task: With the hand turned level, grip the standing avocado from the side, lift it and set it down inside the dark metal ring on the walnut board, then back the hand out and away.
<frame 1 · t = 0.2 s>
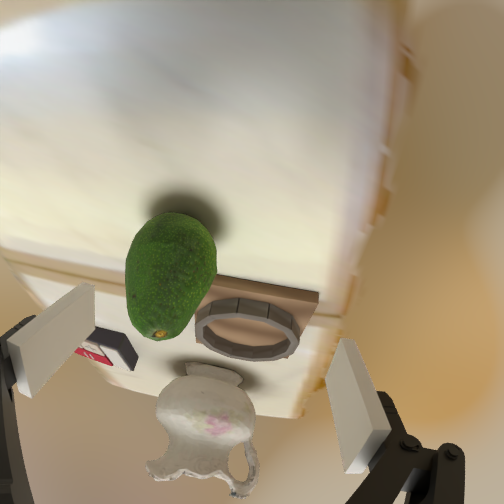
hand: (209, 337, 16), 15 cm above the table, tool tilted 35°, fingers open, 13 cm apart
avocado: (187, 222, 31), on the table
calculator: (100, 335, 58), on the table
ceramic pitcher: (219, 375, 62), on the table
ring stand: (249, 317, 42), on the table
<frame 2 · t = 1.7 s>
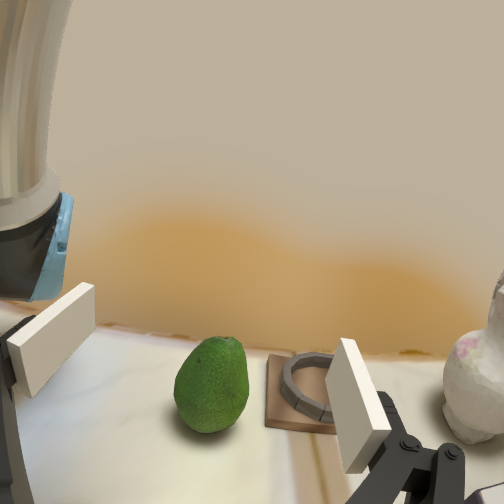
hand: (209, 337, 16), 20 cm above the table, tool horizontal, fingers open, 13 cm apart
avocado: (205, 422, 33), on the table
ceramic pitcher: (467, 416, 38), on the table
ring stand: (322, 398, 41), on the table
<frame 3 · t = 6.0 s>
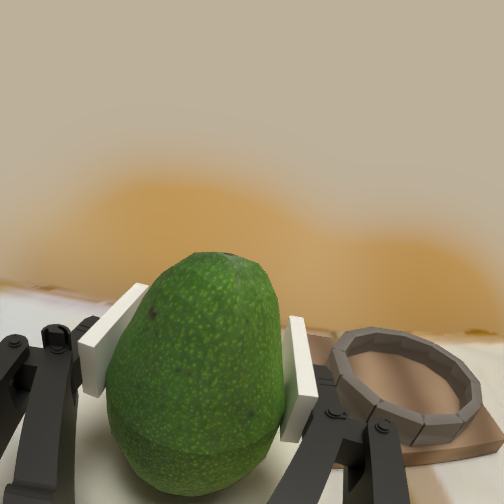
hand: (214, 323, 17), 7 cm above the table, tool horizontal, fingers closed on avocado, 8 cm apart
avocado: (185, 464, 14), on the table, touching gripper
ring stand: (395, 402, 22), on the table
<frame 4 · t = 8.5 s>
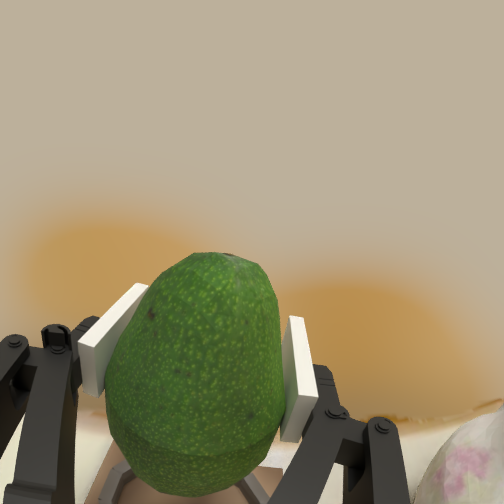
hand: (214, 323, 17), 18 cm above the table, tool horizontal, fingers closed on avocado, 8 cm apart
avocado: (185, 465, 14), point 12 cm above the table, touching gripper
when the fingers open (10 cm above the table, at t = 10.9 s): avocado drops 2 cm, resting on ring stand.
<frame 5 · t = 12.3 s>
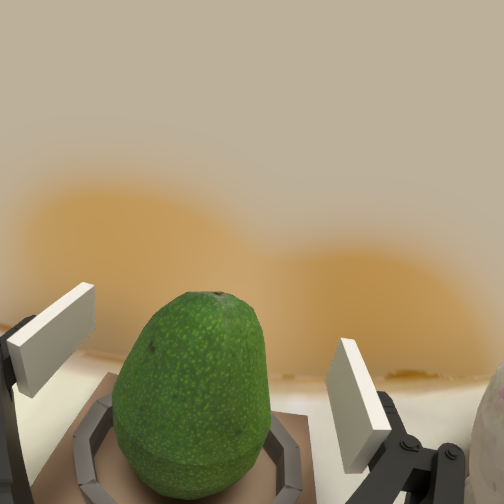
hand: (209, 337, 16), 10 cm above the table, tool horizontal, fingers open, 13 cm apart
avocado: (184, 470, 16), point 1 cm above the table, touching ring stand
ring stand: (185, 480, 16), on the table
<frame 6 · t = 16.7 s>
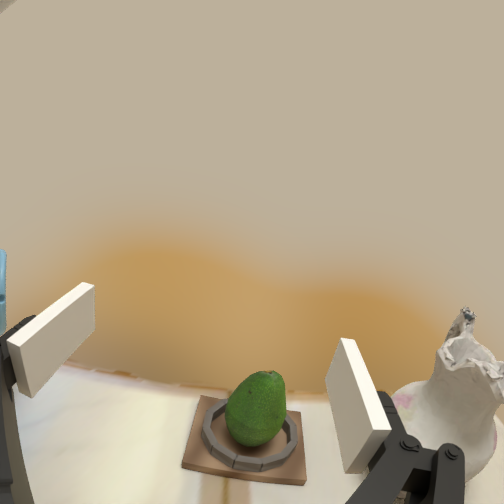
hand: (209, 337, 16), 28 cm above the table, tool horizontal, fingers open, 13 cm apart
avocado: (247, 437, 40), point 1 cm above the table, touching ring stand
ceramic pitcher: (408, 464, 38), on the table
ring stand: (246, 442, 40), on the table
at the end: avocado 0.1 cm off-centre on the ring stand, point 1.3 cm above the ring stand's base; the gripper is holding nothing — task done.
